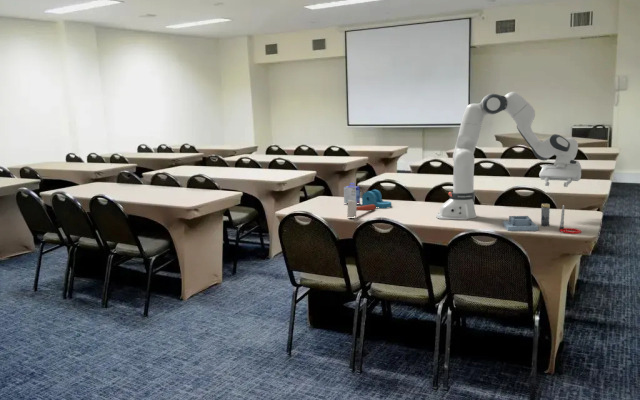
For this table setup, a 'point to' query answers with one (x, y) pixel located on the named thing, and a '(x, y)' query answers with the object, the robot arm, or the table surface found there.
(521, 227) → the block
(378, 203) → the camera mount
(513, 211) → the table surface
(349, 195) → the ink cartridge box
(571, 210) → the table surface
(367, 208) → the mallet
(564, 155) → the robot arm
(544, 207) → the key rod
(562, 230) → the tow hook
